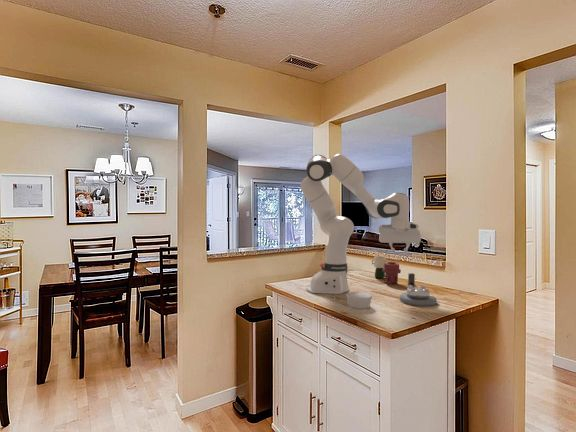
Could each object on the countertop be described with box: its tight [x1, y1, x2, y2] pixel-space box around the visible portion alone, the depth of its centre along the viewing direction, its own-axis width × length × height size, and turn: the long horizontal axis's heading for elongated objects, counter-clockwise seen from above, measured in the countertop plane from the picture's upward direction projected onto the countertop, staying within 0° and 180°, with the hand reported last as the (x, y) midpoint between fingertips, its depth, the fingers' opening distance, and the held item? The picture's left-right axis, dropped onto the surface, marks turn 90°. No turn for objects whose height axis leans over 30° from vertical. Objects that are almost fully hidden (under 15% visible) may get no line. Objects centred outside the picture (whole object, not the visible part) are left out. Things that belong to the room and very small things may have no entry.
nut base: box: [399, 292, 438, 307], centre depth 158 cm, size 16×16×2 cm
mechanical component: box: [383, 261, 402, 285], centre depth 195 cm, size 12×10×10 cm
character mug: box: [371, 255, 390, 279], centre depth 209 cm, size 11×7×13 cm, turn 55°
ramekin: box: [345, 291, 373, 310], centre depth 149 cm, size 11×11×5 cm
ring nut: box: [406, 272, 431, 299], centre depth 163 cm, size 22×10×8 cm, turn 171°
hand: (399, 251), depth 173 cm, fingers open, 5 cm apart
